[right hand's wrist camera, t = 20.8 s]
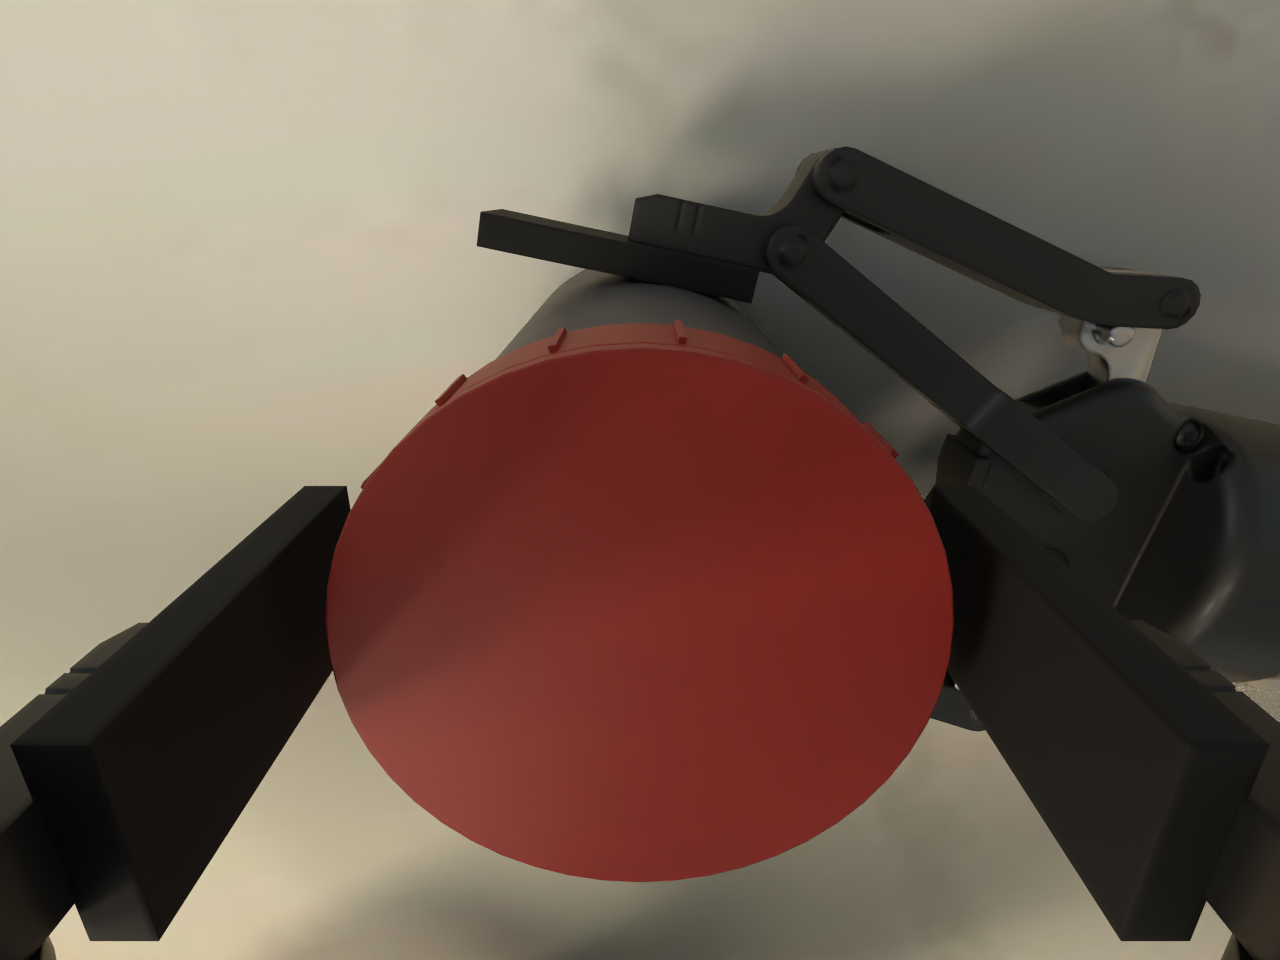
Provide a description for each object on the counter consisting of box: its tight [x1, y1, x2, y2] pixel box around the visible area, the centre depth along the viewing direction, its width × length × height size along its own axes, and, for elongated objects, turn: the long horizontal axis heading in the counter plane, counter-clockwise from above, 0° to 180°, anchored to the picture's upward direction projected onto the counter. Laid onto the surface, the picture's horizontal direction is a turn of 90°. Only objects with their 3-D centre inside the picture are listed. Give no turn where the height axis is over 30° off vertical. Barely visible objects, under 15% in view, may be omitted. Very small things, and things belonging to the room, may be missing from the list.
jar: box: [497, 269, 782, 359], centre depth 18 cm, size 8×8×15 cm
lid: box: [326, 320, 954, 882], centre depth 11 cm, size 9×9×2 cm
